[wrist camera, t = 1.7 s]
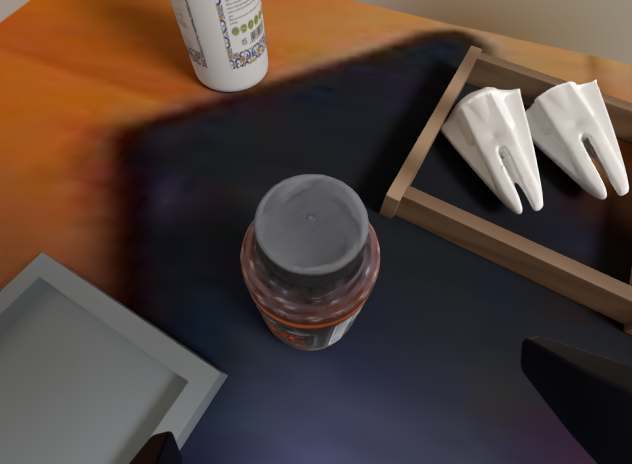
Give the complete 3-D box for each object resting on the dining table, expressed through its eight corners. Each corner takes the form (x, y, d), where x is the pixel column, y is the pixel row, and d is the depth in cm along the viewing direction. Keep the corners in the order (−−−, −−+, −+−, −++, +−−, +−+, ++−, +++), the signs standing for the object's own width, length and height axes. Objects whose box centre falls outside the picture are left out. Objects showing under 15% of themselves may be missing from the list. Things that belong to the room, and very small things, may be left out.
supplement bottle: (244, 317, 21) (182, 238, 11) (297, 246, 23) (288, 126, 13) (323, 374, 19) (338, 342, 9) (372, 292, 22) (426, 196, 12)
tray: (20, 696, 13) (-19, 736, 12) (-166, 485, 16) (-217, 494, 15) (228, 375, 19) (220, 372, 18) (61, 262, 22) (42, 251, 21)
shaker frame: (640, 339, 20) (680, 331, 18) (379, 213, 24) (386, 194, 22) (661, 141, 28) (691, 119, 26) (460, 70, 32) (471, 45, 30)
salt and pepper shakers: (434, 116, 30) (459, 225, 25) (452, 76, 26) (486, 195, 21) (564, 118, 30) (615, 226, 25) (601, 78, 26) (669, 196, 21)
